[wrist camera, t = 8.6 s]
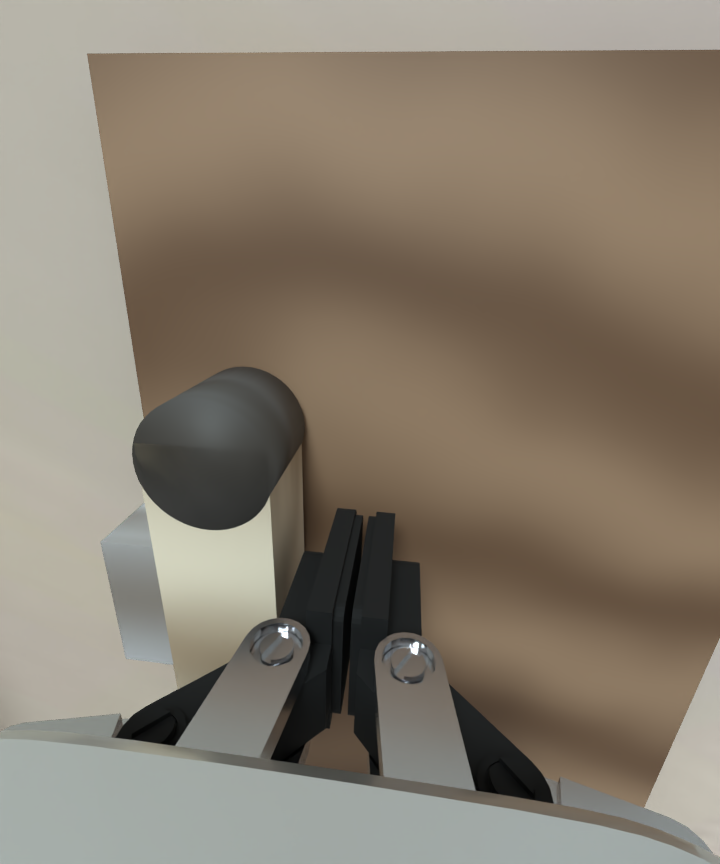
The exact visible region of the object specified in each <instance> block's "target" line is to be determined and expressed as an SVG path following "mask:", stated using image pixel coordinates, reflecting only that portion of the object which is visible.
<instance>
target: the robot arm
mask: <svg viewBox="0 0 720 864" xmlns="http://www.w3.org/2000/svg"><path fill="white" fill-rule="evenodd" d="M394 527H395V513H387V512H377V513H376V516H369V517H368V523H367V529H366V535H365V541H364V546H363V552H362V536H363V515H357V511H356V510H355V509H344V508H337V511H336V514H335V517H334V520H333V524H332V527H331V530H330V533H329V537H328V540H327V543H326V546H325V550H324V553H322V552H312V551H305V552H304V553H303V555H302V558H301V560H300V563H299V566H298V568H297V571H296V574H295V576H294V579H293V582H292V584H291V587H290V590H289V592H288V595H287V598H286V600H285V603H284V606H283V608H282V611H281V614H280V616H279V618H274V619H269V620H266V621H264V622H261V623H259V624H258V625H257V626H255V627H254V628H252V629H251V631H250V632H249V633H248V634H247V635H246V637H245V638H244V640H243V641H242V643H241V644H240V646H239V647H238V649H237V651H236V652H235V654H234V655H233V657H232V658H231V660H230V661H229V662H228V663H226V664H225V665H223V666H221V667H219V668H217V669H215V670H213V671H212V672H210V673H208V674H206V675H204V676H202V677H200V678H198V679H197V680H195V681H193V682H191V683H189V684H187V685H185V686H183V687H182V688H180V689H178V690H176V691H174V692H172V693H170V694H169V695H167V696H165V697H163V698H161V699H159V700H157V701H155V702H154V703H152V704H150V705H148V706H146V707H144V708H143V709H141V710H140V711H138V712H137V713H135V714H134V715H133V716H132V717H131V718H130V719H122V718H121V714H111V715H100V716H90V717H79V718H68V719H58V720H47V721H36V722H26V723H21V724H17V725H13V726H10V727H8V728H6V729H4V730H2V731H0V864H720V857H718V856H716V855H714V854H713V853H712V851H711V850H710V849H709V848H708V846H707V845H706V844H705V842H704V841H703V840H702V839H700V838H699V837H698V836H697V835H696V834H695V833H693V832H692V831H691V830H690V829H689V828H688V827H686V826H684V825H683V824H681V823H679V822H677V821H675V820H673V819H671V818H669V817H667V816H664V815H661V814H659V813H656V812H653V811H651V810H648V809H645V808H643V807H640V806H637V805H635V804H632V803H629V802H627V801H624V800H621V799H619V798H616V797H613V796H611V795H608V794H605V793H603V792H600V791H597V790H595V789H592V788H590V787H587V786H584V785H582V784H579V783H576V782H574V781H571V780H568V779H566V778H563V777H560V778H559V781H558V782H556V781H554V780H551V779H548V778H546V777H544V776H543V774H542V773H541V772H540V770H539V769H538V768H537V767H536V766H535V765H534V763H533V762H532V761H531V760H530V759H529V758H528V757H527V756H525V755H524V754H523V753H522V752H521V751H520V750H519V749H518V748H517V747H516V746H515V745H514V744H513V743H512V742H511V741H510V740H508V739H507V738H506V737H505V736H504V735H503V734H502V733H501V732H500V731H499V730H498V729H497V728H496V727H495V726H494V725H493V724H491V723H490V722H489V721H488V720H487V719H486V718H485V717H484V716H483V715H482V714H481V713H480V712H479V711H478V710H477V709H476V708H474V707H473V706H472V705H471V704H470V703H469V702H468V701H467V700H466V699H465V698H464V697H463V696H462V695H461V694H460V693H458V692H457V691H456V690H455V689H454V688H453V687H452V686H451V685H450V684H449V683H448V679H447V675H446V671H445V667H444V663H443V659H442V657H441V655H440V652H439V650H438V649H437V648H436V647H435V646H434V644H433V643H432V642H430V641H429V640H427V639H426V638H424V637H422V627H421V588H420V563H419V562H409V561H399V560H392V557H393V542H394ZM361 556H362V558H361ZM349 660H350V667H349ZM348 667H349V691H348V715H352V716H354V734H355V735H356V737H357V738H358V739H359V741H360V742H361V743H362V745H363V746H364V747H365V748H366V750H367V751H368V758H367V766H368V774H364V773H357V772H350V771H343V770H337V769H330V768H323V767H317V766H310V765H304V764H305V761H306V758H307V756H308V753H309V748H310V743H311V739H312V738H314V737H315V736H316V735H318V734H319V733H320V732H322V731H323V730H325V729H326V728H327V729H330V725H331V719H332V714H333V713H337V714H341V711H342V705H343V698H344V692H345V686H346V679H347V673H348Z"/></svg>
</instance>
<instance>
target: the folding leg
mask: <svg viewBox="0 0 720 864" xmlns="http://www.w3.org/2000/svg"><path fill="white" fill-rule="evenodd" d="M304 430H305V424H304V416H303V412H302V409H301V406H300V404H299V402H298V400H297V398H296V397H295V395H294V394H293V392H292V391H291V390H290V389H289V387H288V386H287V385H286V384H285V383H283V382H282V381H281V380H280V379H278V378H277V377H275V376H274V375H272V374H270V373H268V372H266V371H263V370H261V369H257V368H253V367H233V368H228V369H225V370H223V371H220V372H218V373H216V374H215V375H213V376H211V377H209V378H208V379H206V380H204V381H202V382H200V383H199V384H197V385H195V386H193V387H192V388H190V389H188V390H186V391H184V392H183V393H181V394H179V395H177V396H176V397H174V398H172V399H170V400H169V401H167V402H165V403H163V404H161V405H160V406H158V407H156V408H155V409H154V410H152V411H151V412H150V413H149V414H148V415H147V416H146V417H145V418H144V419H143V420H142V422H141V423H140V425H139V427H138V429H137V431H136V434H135V437H134V441H133V448H132V456H133V464H134V468H135V472H136V474H137V477H138V480H139V482H140V484H141V486H142V491H143V497H144V503H145V508H146V514H147V519H148V525H149V531H150V536H151V542H152V548H153V553H154V559H155V564H156V570H157V576H158V581H159V587H160V592H161V598H162V604H163V609H164V615H165V621H166V626H167V632H168V637H169V643H170V649H171V654H172V660H173V665H174V671H175V677H176V682H177V688H178V689H180V688H182V687H183V686H185V685H187V684H189V683H191V682H193V681H195V680H197V679H198V678H200V677H202V676H204V675H206V674H208V673H210V672H212V671H213V670H215V669H217V668H219V667H221V666H223V665H225V664H226V663H228V662H229V661H230V660H231V658H232V657H233V655H234V654H235V652H236V651H237V649H238V647H239V646H240V644H241V643H242V641H243V640H244V638H245V637H246V635H247V634H248V633H249V632H250V631H251V629H252V628H254V627H255V626H257V625H258V624H259V623H261V622H264V621H266V620H269V619H274V618H279V616H280V614H281V611H282V608H283V606H284V603H285V600H286V598H287V595H288V592H289V590H290V587H291V584H292V582H293V579H294V576H295V574H296V571H297V568H298V566H299V563H300V560H301V558H302V555H303V553H304V516H303V477H302V441H303V437H304Z"/></svg>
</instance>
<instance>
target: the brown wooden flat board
mask: <svg viewBox="0 0 720 864" xmlns="http://www.w3.org/2000/svg"><path fill="white" fill-rule="evenodd" d="M87 56H88V62H89V69H90V75H91V81H92V88H93V94H94V101H95V107H96V114H97V120H98V126H99V133H100V139H101V146H102V152H103V159H104V165H105V171H106V178H107V184H108V191H109V197H110V204H111V210H112V216H113V223H114V229H115V236H116V242H117V249H118V255H119V262H120V268H121V274H122V281H123V287H124V294H125V300H126V307H127V313H128V319H129V326H130V332H131V339H132V345H133V352H134V358H135V364H136V371H137V377H138V384H139V390H140V397H141V403H142V409H143V416H144V418H145V417H146V416H147V415H148V414H149V413H150V412H151V411H152V410H154V409H155V408H156V407H158V406H160V405H161V404H163V403H165V402H167V401H169V400H170V399H172V398H174V397H176V396H177V395H179V394H181V393H183V392H184V391H186V390H188V389H190V388H192V387H193V386H195V385H197V384H199V383H200V382H202V381H204V380H206V379H208V378H209V377H211V376H213V375H215V374H216V373H218V372H220V371H223V370H225V369H228V368H233V367H253V368H257V369H261V370H263V371H266V372H268V373H270V374H272V375H274V376H275V377H277V378H278V379H280V380H281V381H282V382H283V383H285V384H286V385H287V386H288V387H289V389H290V390H291V391H292V392H293V394H294V395H295V397H296V398H297V400H298V402H299V404H300V406H301V409H302V412H303V416H304V424H305V430H304V437H303V441H302V477H303V516H304V552H305V551H312V552H322V553H324V550H325V546H326V543H327V540H328V537H329V533H330V530H331V527H332V524H333V520H334V517H335V514H336V511H337V508H344V509H355V510H356V511H357V515H363V536H362V552H363V546H364V541H365V535H366V529H367V523H368V517H369V516H376V513H377V512H387V513H395V527H394V542H393V557H392V560H399V561H409V562H419V563H420V588H421V627H422V637H424V638H426V639H427V640H429V641H430V642H432V643H433V644H434V646H435V647H436V648H437V649H438V650H439V652H440V655H441V657H442V659H443V663H444V667H445V671H446V675H447V679H448V683H449V684H450V685H451V686H452V687H453V688H454V689H455V690H456V691H457V692H458V693H460V694H461V695H462V696H463V697H464V698H465V699H466V700H467V701H468V702H469V703H470V704H471V705H472V706H473V707H474V708H476V709H477V710H478V711H479V712H480V713H481V714H482V715H483V716H484V717H485V718H486V719H487V720H488V721H489V722H490V723H491V724H493V725H494V726H495V727H496V728H497V729H498V730H499V731H500V732H501V733H502V734H503V735H504V736H505V737H506V738H507V739H508V740H510V741H511V742H512V743H513V744H514V745H515V746H516V747H517V748H518V749H519V750H520V751H521V752H522V753H523V754H524V755H525V756H527V757H528V758H529V759H530V760H531V761H532V762H533V763H534V765H535V766H536V767H537V768H538V769H539V770H540V772H541V773H542V774H543V776H544V777H546V778H548V779H551V780H554V781H556V782H558V781H559V778H560V777H563V778H566V779H568V780H571V781H574V782H576V783H579V784H582V785H584V786H587V787H590V788H592V789H595V790H597V791H600V792H603V793H605V794H608V795H611V796H613V797H616V798H619V799H621V800H624V801H627V802H629V803H632V804H635V805H637V806H640V807H643V808H644V806H645V804H646V802H647V800H648V797H649V795H650V793H651V791H652V788H653V786H654V784H655V782H656V779H657V777H658V775H659V773H660V770H661V768H662V766H663V764H664V761H665V759H666V757H667V755H668V752H669V750H670V748H671V746H672V743H673V741H674V739H675V737H676V735H677V732H678V730H679V728H680V726H681V723H682V721H683V719H684V717H685V714H686V712H687V710H688V708H689V705H690V703H691V701H692V699H693V696H694V694H695V692H696V690H697V687H698V685H699V683H700V681H701V678H702V676H703V674H704V672H705V669H706V667H707V665H708V663H709V661H710V658H711V656H712V654H713V652H714V649H715V647H716V645H717V643H718V640H719V638H720V50H612V51H447V52H282V53H116V54H87ZM101 547H102V551H103V556H104V560H105V565H106V570H107V574H108V579H109V583H110V588H111V592H112V597H113V602H114V606H115V611H116V615H117V620H118V624H119V629H120V634H121V638H122V643H123V647H124V652H125V657H126V659H133V660H141V661H149V662H156V663H164V664H172V665H173V660H172V654H171V649H170V643H169V637H168V632H167V626H166V621H165V615H164V609H163V604H162V598H161V592H160V587H159V581H158V576H157V570H156V564H155V559H154V553H153V548H152V542H151V536H150V531H149V525H148V519H147V514H146V508H145V503H144V504H142V505H141V506H140V507H139V508H138V509H137V510H136V511H135V512H133V513H132V514H131V515H130V516H129V517H128V518H127V519H126V520H125V521H123V522H122V523H121V524H120V525H119V526H118V527H117V528H116V529H114V530H113V531H112V532H111V533H110V534H109V535H108V536H107V537H106V538H104V539H103V540H102V541H101ZM361 558H362V556H361ZM349 667H350V660H349ZM349 667H348V673H347V679H346V686H345V692H344V698H343V705H342V711H341V714H337V713H333V714H332V719H331V725H330V729H327V728H326V729H325V730H323V731H322V732H320V733H319V734H318V735H316V736H315V737H314V738H312V739H311V743H310V748H309V753H308V756H307V758H306V761H305V764H304V765H310V766H317V767H323V768H330V769H337V770H343V771H350V772H357V773H364V774H368V766H367V758H368V751H367V750H366V748H365V747H364V746H363V745H362V743H361V742H360V741H359V739H358V738H357V737H356V735H355V734H354V716H352V715H348V691H349Z"/></svg>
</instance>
